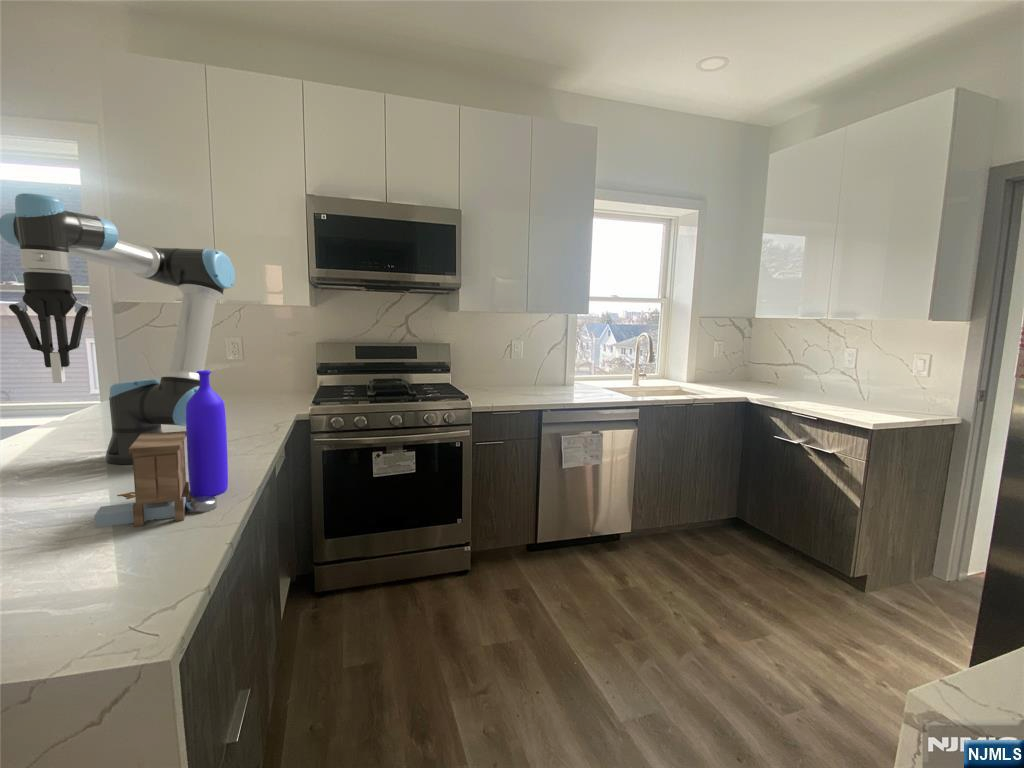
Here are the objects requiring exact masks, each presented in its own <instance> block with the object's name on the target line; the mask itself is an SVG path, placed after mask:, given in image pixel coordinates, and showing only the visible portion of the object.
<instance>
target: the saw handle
mask: <svg viewBox="0 0 1024 768" xmlns="http://www.w3.org/2000/svg"><path fill="white" fill-rule="evenodd" d="M116 496H117V497H124V498H125V500H129V499H133V498H134V499H135V491H130V492H126V493H123V494H122V493H121V494H117V495H116Z"/></svg>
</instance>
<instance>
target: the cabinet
mask: <svg viewBox="0 0 1024 768" xmlns="http://www.w3.org/2000/svg"><path fill="white" fill-rule="evenodd" d="M186 439H187V435H186V430H183V431H182V430H181V431H167V432H163V433H148V434H140V436H139V437H138V438H137V439H136V440H135V442H134V443H133V444H132V445H131V446H130V448H129V454H132V453H133V464H132V467H133V480H134V482H133V483H134V485H133V486H134V492H135V494H134V495H135V497H134V499H135V502H133V503H134V504H133V517H134V523H133V527H134V528H135V527H143V526H144V524H145V521H144V507H143V504H152V503H160V502H169V501H174V506H175V517H174V520H175V522H180V521H184V520H185V518H186V517H185V514H184V498H181V497H186V501H188V500H190V486H189V481H187V475H186V455H185V440H186Z"/></svg>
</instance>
